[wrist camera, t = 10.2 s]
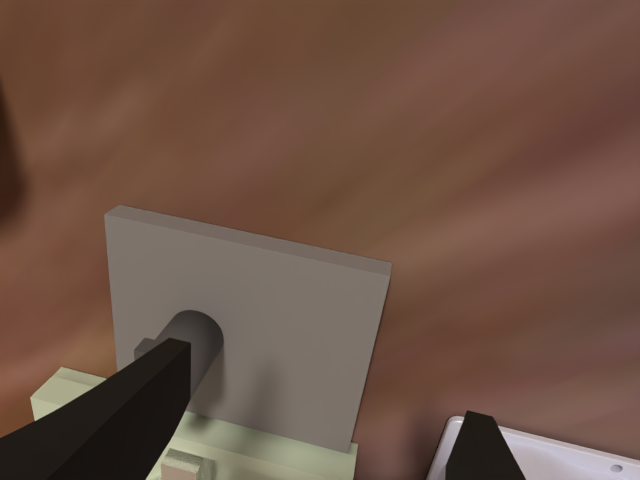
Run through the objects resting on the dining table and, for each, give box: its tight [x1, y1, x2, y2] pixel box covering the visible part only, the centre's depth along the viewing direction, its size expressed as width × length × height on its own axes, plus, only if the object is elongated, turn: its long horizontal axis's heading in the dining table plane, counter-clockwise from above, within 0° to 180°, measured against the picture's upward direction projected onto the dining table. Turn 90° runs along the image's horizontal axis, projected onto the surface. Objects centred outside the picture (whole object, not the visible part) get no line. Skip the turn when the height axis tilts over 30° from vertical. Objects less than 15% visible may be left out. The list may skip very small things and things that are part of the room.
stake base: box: [104, 205, 392, 454], centre depth 21 cm, size 13×11×6 cm
